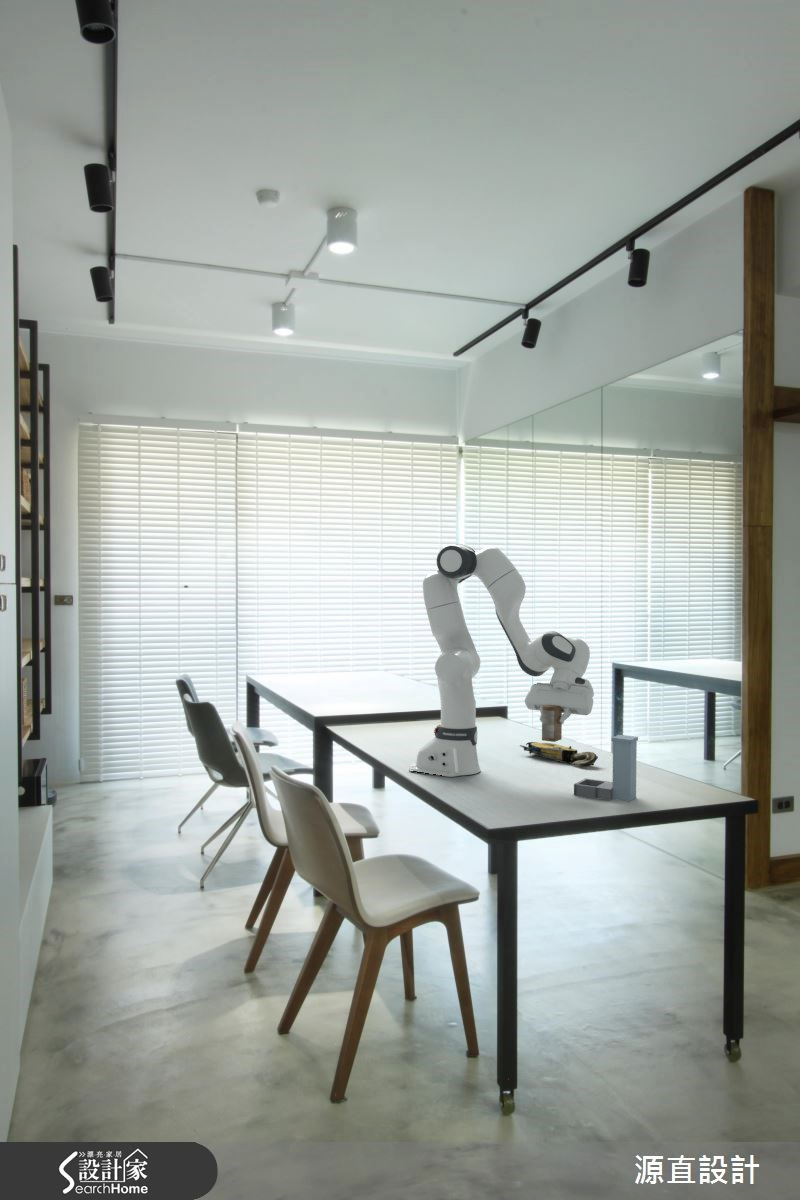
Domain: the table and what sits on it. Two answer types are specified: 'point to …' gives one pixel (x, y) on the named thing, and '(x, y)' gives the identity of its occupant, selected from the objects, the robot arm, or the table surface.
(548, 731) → the brown rectangular block
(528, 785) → the table surface
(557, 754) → the pulley block
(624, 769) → the grey l-shaped post
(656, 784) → the table surface
